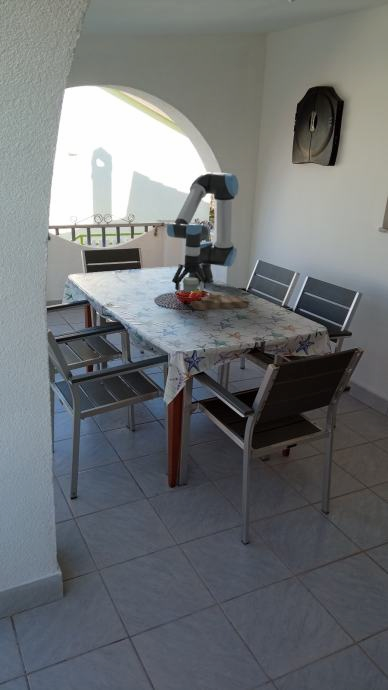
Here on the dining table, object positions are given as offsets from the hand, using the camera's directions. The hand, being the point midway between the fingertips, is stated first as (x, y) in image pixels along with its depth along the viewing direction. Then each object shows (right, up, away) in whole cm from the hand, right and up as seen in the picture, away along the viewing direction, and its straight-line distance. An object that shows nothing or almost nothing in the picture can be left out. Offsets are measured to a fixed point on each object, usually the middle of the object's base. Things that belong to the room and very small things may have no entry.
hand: (189, 295), depth 267 cm
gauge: (+11, -4, -9) cm, 15 cm away
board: (+15, -6, -4) cm, 16 cm away
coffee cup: (0, -3, +1) cm, 3 cm away
